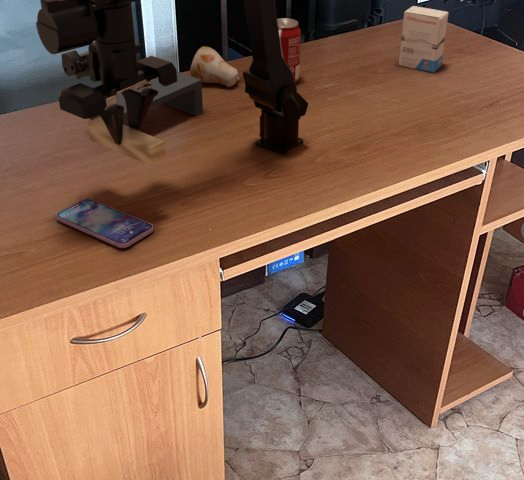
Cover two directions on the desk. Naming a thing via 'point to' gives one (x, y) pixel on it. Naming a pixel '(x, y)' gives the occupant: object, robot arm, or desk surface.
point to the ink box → (423, 38)
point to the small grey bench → (173, 95)
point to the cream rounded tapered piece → (212, 68)
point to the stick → (129, 142)
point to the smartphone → (105, 223)
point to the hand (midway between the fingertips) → (126, 140)
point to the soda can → (290, 44)
